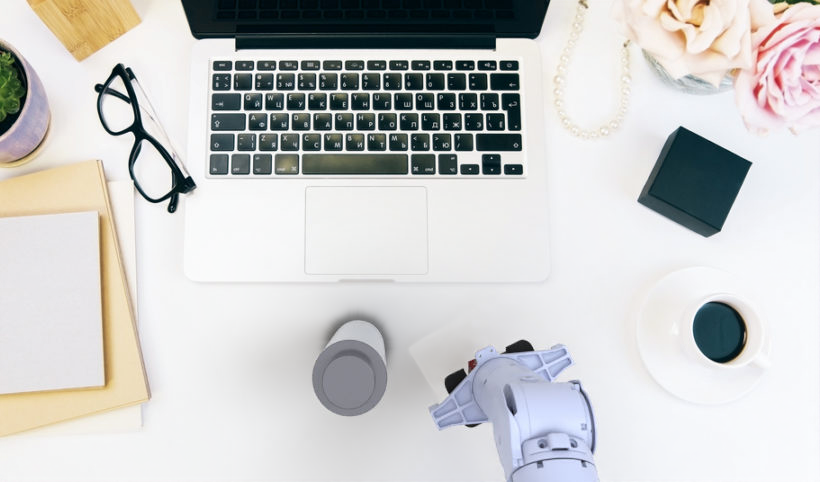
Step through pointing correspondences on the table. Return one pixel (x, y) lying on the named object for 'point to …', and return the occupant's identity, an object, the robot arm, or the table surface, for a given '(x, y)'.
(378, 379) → the grey-lidded white canister
